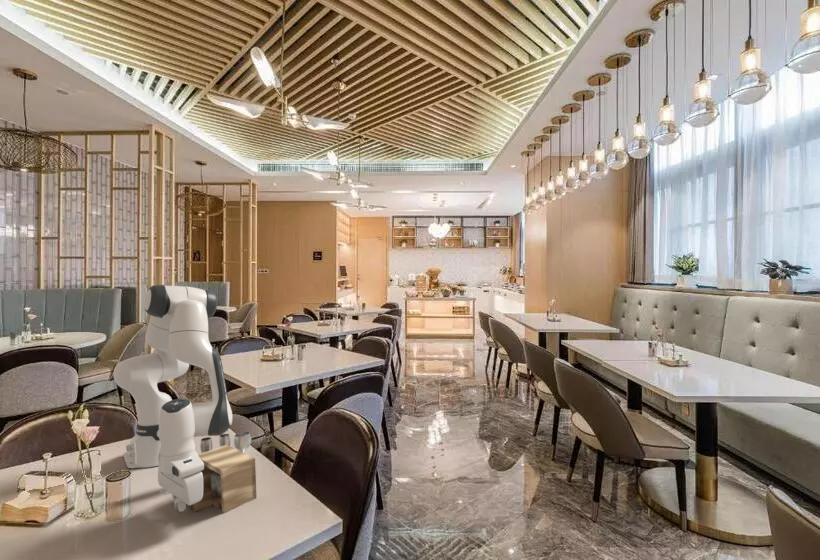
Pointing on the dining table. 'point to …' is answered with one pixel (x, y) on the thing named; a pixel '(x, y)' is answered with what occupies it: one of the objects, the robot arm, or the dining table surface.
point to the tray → (210, 494)
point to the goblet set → (240, 443)
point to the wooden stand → (230, 475)
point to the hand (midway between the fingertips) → (180, 509)
